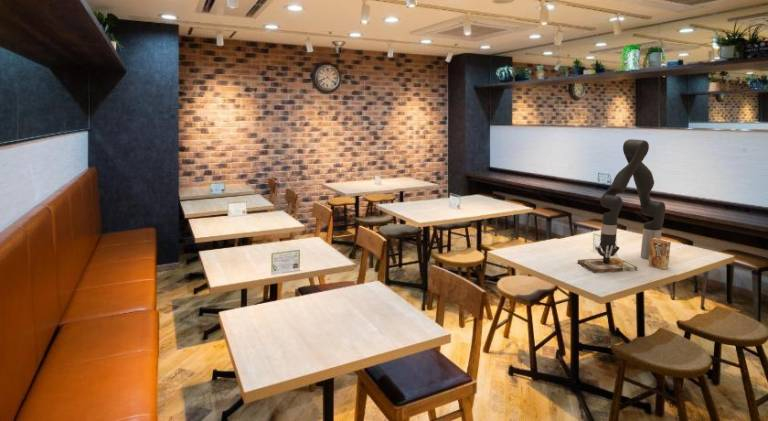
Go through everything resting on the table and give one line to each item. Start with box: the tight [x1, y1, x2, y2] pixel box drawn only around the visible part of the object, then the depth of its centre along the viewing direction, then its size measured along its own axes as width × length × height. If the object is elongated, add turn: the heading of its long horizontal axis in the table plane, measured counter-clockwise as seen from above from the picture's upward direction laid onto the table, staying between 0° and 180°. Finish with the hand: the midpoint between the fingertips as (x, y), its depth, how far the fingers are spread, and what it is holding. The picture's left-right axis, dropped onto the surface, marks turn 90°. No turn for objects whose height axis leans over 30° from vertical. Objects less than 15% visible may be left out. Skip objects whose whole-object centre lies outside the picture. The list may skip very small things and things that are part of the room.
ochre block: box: [608, 257, 624, 266], centre depth 260 cm, size 6×6×3 cm
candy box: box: [647, 238, 672, 270], centre depth 260 cm, size 9×4×15 cm, turn 34°
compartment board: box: [577, 257, 638, 274], centre depth 263 cm, size 24×17×4 cm
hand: (605, 263), depth 259 cm, fingers closed
